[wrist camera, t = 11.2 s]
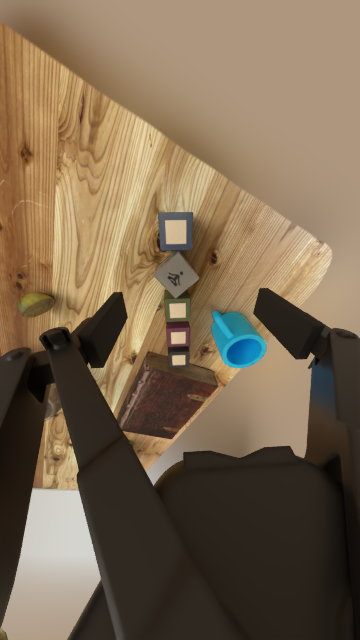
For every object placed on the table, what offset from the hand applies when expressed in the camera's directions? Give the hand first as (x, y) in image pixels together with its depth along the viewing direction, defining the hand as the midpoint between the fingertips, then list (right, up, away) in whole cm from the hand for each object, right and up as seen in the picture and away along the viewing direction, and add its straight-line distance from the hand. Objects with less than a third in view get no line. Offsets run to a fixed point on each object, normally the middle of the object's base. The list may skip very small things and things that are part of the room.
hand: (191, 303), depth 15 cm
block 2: (-2, +2, +16) cm, 16 cm away
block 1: (-2, +13, +10) cm, 16 cm away
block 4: (-2, -8, +22) cm, 24 cm away
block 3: (-2, -3, +19) cm, 19 cm away
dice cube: (-2, +8, +13) cm, 15 cm away
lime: (-27, +2, +15) cm, 31 cm away
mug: (+9, -2, +20) cm, 22 cm away
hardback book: (-7, -24, +32) cm, 40 cm away
